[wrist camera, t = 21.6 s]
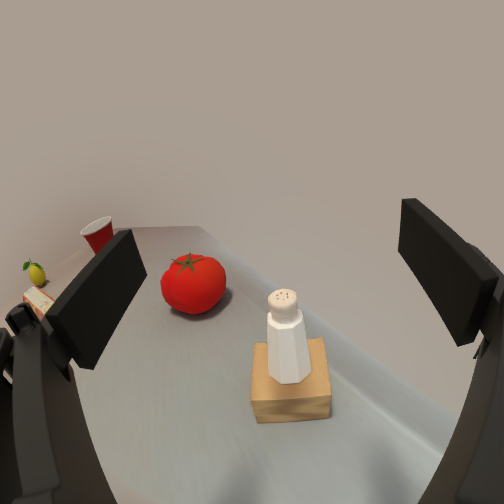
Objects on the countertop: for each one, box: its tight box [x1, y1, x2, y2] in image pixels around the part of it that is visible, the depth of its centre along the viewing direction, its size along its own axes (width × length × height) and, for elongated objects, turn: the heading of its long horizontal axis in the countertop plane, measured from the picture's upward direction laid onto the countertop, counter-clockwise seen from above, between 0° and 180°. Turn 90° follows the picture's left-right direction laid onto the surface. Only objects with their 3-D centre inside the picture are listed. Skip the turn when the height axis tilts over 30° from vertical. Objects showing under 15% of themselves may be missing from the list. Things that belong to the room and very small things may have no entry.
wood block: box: [250, 338, 332, 423], centre depth 33 cm, size 9×9×6 cm
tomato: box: [160, 252, 226, 315], centre depth 53 cm, size 11×13×10 cm
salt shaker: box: [267, 289, 312, 384], centre depth 29 cm, size 5×5×11 cm
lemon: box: [23, 260, 46, 286], centre depth 70 cm, size 7×6×10 cm
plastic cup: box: [81, 216, 114, 254], centre depth 78 cm, size 11×11×12 cm
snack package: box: [23, 286, 55, 321], centre depth 54 cm, size 21×7×7 cm, turn 62°
